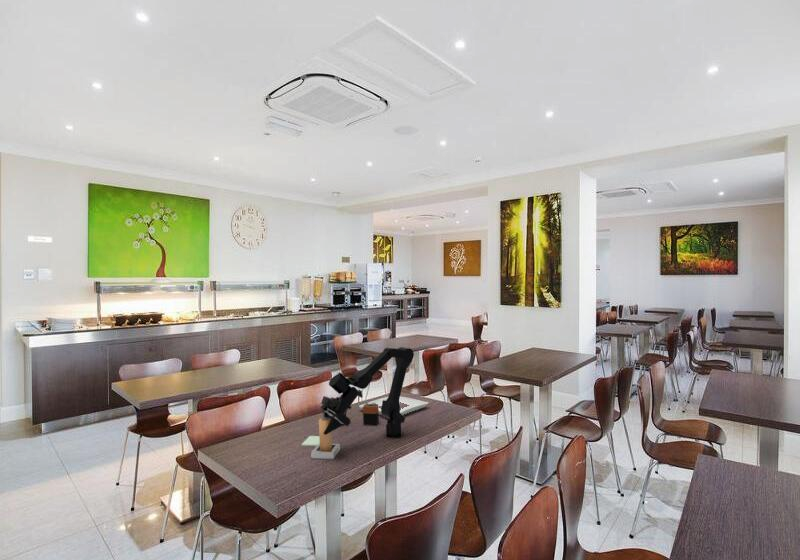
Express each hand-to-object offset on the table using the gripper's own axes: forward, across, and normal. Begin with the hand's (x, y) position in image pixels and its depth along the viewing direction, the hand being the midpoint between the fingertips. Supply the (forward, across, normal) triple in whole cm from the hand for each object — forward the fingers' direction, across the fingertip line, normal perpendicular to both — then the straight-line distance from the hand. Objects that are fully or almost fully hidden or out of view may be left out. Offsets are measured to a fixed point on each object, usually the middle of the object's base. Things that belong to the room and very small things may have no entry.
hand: (322, 432), depth 172 cm
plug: (+6, 0, +7) cm, 9 cm away
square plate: (-31, -33, +45) cm, 63 cm away
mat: (+4, -15, +9) cm, 18 cm away
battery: (-17, -21, +30) cm, 40 cm away
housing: (+5, 0, +7) cm, 9 cm away
